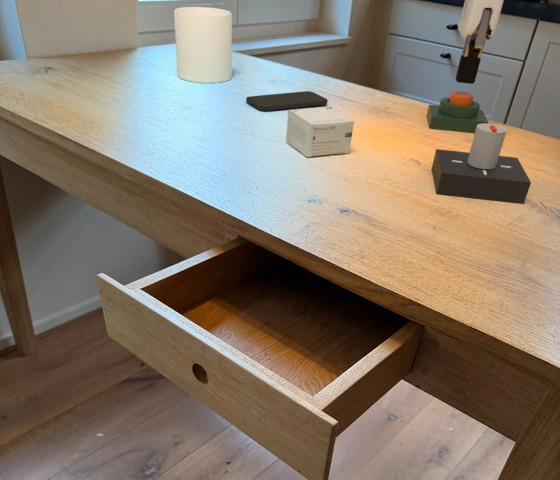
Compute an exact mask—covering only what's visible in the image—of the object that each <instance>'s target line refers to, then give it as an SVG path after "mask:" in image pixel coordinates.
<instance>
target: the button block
mask: <svg viewBox="0 0 560 480" xmlns="http://www.w3.org/2000/svg"><path fill="white" fill-rule="evenodd" d="M449 100H450V97H444V98H441V99H440V101H439V105H437V104H436V105H435V104H428V106H427V107H428V108H427V113H426V121H427V125H428V129H429V130H438V131H446V132H457V133H466V134H467V133H468V134H475V131H476V127H477V125H478V124H483V123H488V124H489V121H488V119H487V116H486V115H485V113H484V111H483V109H480V108H481V105H480V103H479V102H477V101H475V100H474V99H473V100H472V104H471V106H458V105H454V104H451V103H449Z"/></svg>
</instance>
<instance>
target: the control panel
mask: <svg viewBox="0 0 560 480" xmlns="http://www.w3.org/2000/svg"><path fill="white" fill-rule="evenodd" d="M469 153H470V152H469V151H468V152H466V151H458V150H449V149H435V152H434V155H433V161H432V165H431V173H432V177H433V183H434V189H435V193H436V195H441V196H443V195H444V196H452V197H459V198H460V197H461V198H469V199H479V200H489V201H497V202H505V203H514V204H525V201H526V198H527V195H528V192H529V190H530V187H531V184H532V182H531V180H530V178H529V176H528V174H527V172H526V171H525V169H524V167H523V165H522V164H521V161H520V160H519V158H518V157H514V156H504V155H499V158H498V161H497V164H496V167H495V168H494V169H479V168H475V167H472V166H470V165H469V164H468V163H467V160H468V157H469Z"/></svg>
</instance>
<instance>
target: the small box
mask: <svg viewBox="0 0 560 480" xmlns="http://www.w3.org/2000/svg"><path fill="white" fill-rule="evenodd" d="M354 123H355V121H354V119H352V118H351V117H350V116H348V115H346V114H344V113H342V112H340V111H338V110H337V109H336V108H333V107H331V106H324V107H323V106H322V107H305V108H294V109H287V123H286V137H285V142H286V143H287V144H288V145H289V146H291V147H292V148H293V149H295V150H296V151H298V152H299V153H301V154H302V155H303V156H304V157H305V158H310V157H318V156H327V155H340V154H341V155H342V154H345V155H346V154H350V152H351V144H352V137H353V131H354Z"/></svg>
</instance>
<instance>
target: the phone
mask: <svg viewBox="0 0 560 480" xmlns="http://www.w3.org/2000/svg"><path fill="white" fill-rule="evenodd" d="M245 102H246V103H247V104H249V105H250V106H252V107H254V108H256V109H257V110H258V111H263V112H265V111H267V112H269V111H276V110H277V111H278V110H286V109H287V110H289V109H298V108H308V107H315V106H324V105H327V104H328V98H326V97H324V96H322V95H320V94H318V93H316V92H314V91H309V90H303V91H294V92H293V91H292V92H283V93H282V92H281V93H271V94H262V95H251V96H246V97H245Z"/></svg>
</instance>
